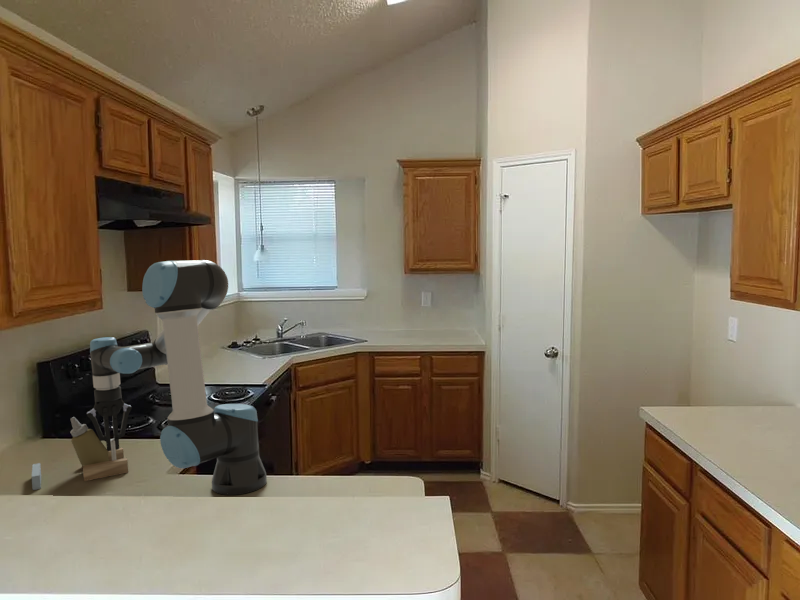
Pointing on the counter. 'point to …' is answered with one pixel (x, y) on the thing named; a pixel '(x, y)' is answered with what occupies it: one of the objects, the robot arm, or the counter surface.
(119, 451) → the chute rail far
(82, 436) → the squeeze bottle
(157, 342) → the robot arm
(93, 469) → the bar
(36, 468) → the bar
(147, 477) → the counter surface
